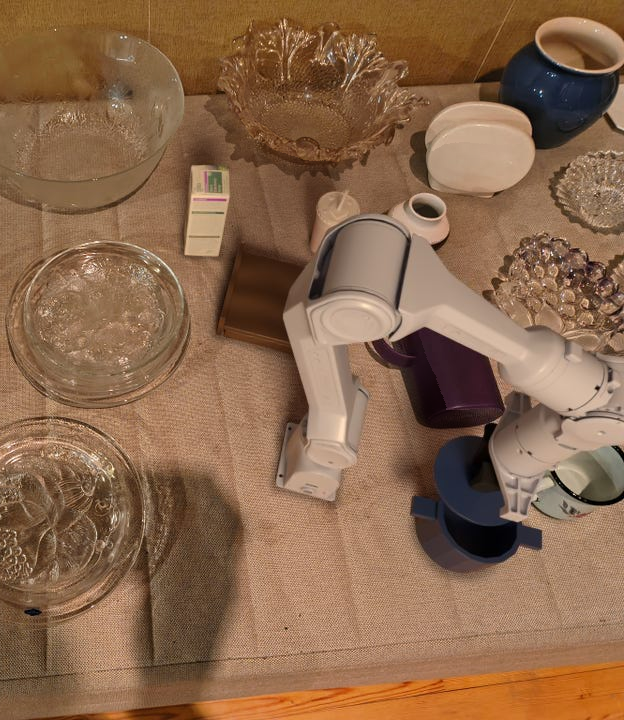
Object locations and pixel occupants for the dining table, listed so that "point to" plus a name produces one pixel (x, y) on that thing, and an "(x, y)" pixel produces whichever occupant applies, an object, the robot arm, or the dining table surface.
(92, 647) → the dining table surface
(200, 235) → the syrup box
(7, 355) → the dining table surface
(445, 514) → the pot
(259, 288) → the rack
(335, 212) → the smoothie
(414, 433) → the dining table surface
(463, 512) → the lid
